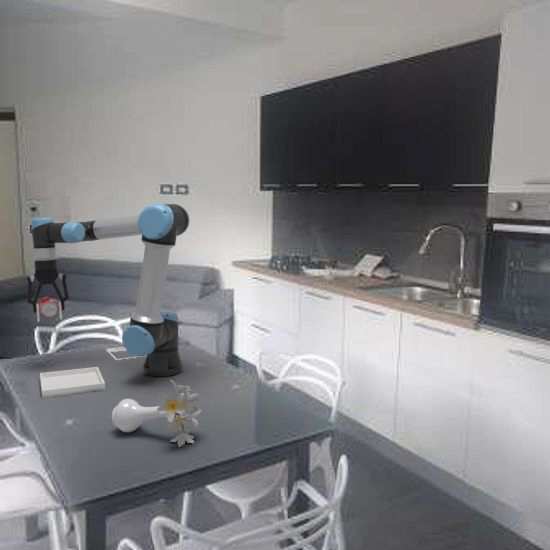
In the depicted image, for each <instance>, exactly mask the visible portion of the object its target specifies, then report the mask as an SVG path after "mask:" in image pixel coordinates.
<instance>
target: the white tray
mask: <svg viewBox="0 0 550 550" xmlns="http://www.w3.org/2000/svg"><path fill="white" fill-rule="evenodd" d="M39 379H40V380H39V381H40V388H41V389H40V392H41V398H42V399H47V398H54V397H62V396H70V395H77V394H78V395H80V394H87V392H88V393H95V392H94V391H96V392H102V391H103V390H104V391H106V382H105V380H104V377H103V375H102V373H101V371H100V369H99V367H98V366H95V367H94V366H93V367H92V366H91V367H85V368H77V369H75V368H74V369H67V370H66V369H65V370H56V371H46V372H39ZM79 393H80V394H79Z"/></svg>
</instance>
